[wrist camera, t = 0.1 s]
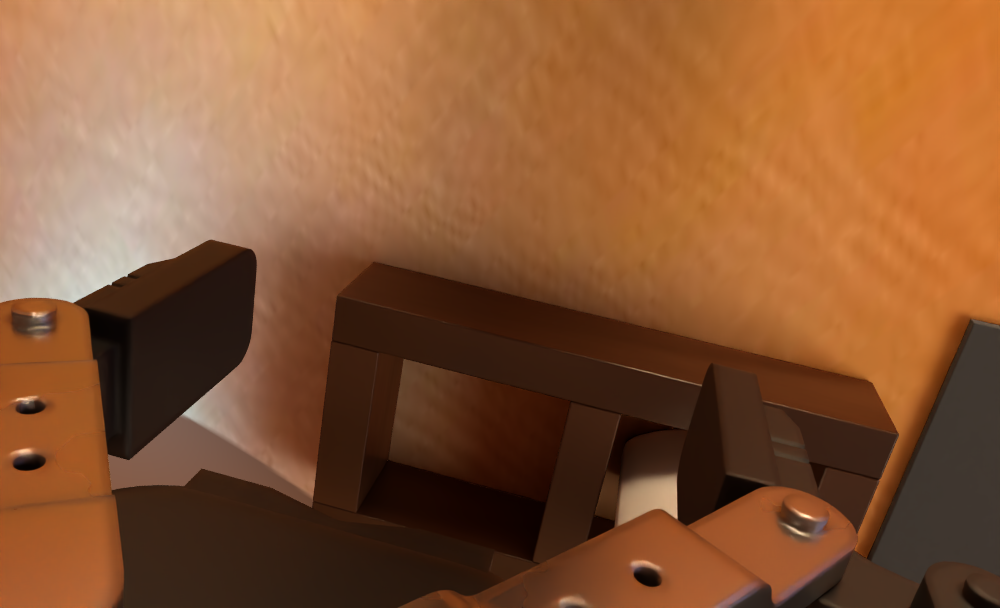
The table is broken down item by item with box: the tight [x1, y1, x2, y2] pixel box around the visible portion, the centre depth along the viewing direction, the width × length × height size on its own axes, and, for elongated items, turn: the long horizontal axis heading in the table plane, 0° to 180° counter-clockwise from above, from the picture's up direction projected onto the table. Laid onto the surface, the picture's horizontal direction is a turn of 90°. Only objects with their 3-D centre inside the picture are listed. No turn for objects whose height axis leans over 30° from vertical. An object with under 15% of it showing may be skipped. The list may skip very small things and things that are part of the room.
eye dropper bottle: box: [614, 429, 688, 528], centre depth 28 cm, size 4×6×12 cm
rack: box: [312, 262, 899, 580], centre depth 32 cm, size 11×19×4 cm, turn 79°
